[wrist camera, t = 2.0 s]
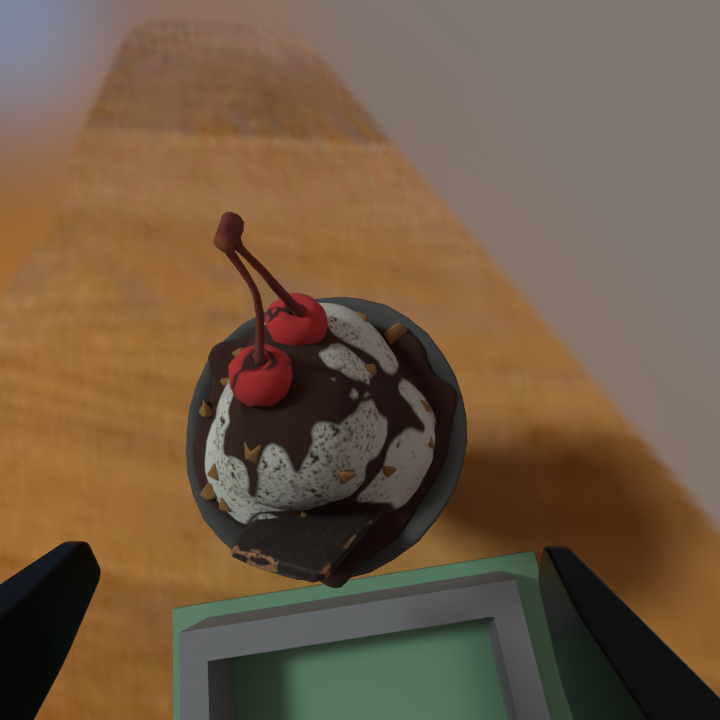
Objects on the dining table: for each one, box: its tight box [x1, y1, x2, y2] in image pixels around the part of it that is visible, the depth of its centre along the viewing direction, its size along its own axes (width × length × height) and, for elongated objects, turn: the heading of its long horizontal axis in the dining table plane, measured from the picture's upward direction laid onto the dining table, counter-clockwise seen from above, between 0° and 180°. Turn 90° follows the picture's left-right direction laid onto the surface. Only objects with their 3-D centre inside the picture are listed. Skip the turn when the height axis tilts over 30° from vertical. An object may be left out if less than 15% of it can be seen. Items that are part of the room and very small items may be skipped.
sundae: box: [186, 212, 467, 588], centre depth 13 cm, size 7×7×15 cm
